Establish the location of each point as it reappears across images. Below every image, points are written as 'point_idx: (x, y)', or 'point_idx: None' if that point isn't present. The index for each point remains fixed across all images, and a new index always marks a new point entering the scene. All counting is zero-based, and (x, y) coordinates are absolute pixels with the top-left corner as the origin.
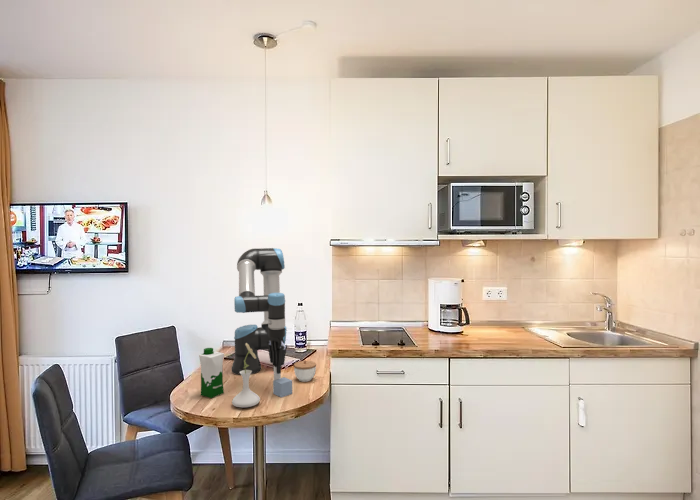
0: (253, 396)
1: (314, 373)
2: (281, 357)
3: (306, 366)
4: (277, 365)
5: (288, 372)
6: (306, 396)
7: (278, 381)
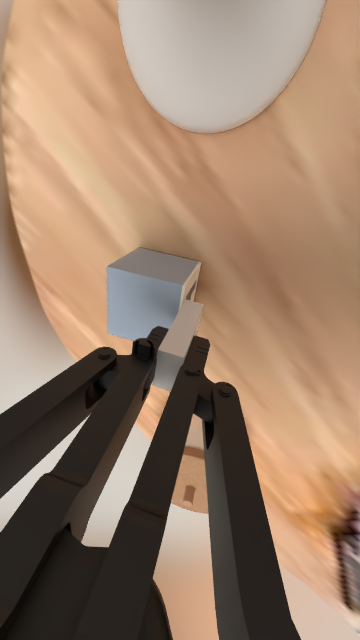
0: (134, 9)
1: None
2: (28, 404)
3: None
4: (131, 355)
5: (313, 466)
6: (78, 307)
7: (146, 287)
